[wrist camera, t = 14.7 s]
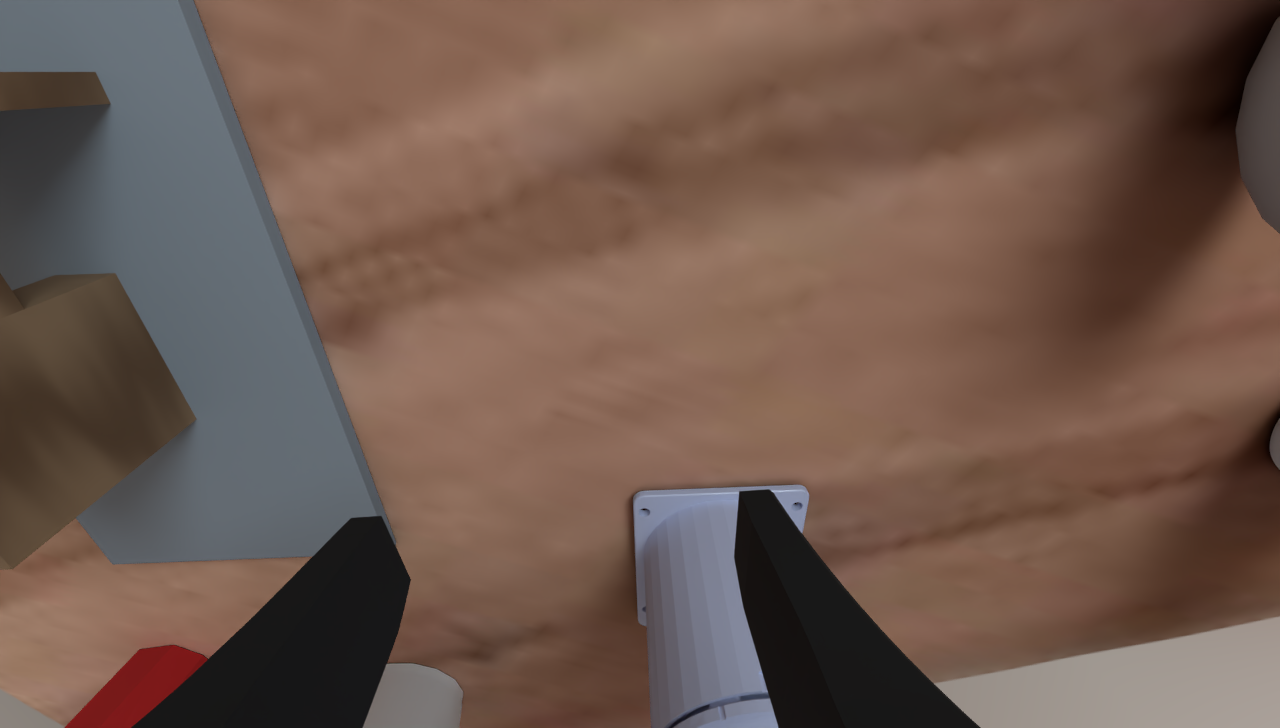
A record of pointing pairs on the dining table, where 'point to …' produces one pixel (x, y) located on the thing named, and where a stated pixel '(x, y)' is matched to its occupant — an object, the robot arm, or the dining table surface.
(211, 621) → the dining table surface
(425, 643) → the dining table surface
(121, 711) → the french fries
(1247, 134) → the donut
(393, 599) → the robot arm
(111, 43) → the mat
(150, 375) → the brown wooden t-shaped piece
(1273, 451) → the pill bottle
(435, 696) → the foam cup
